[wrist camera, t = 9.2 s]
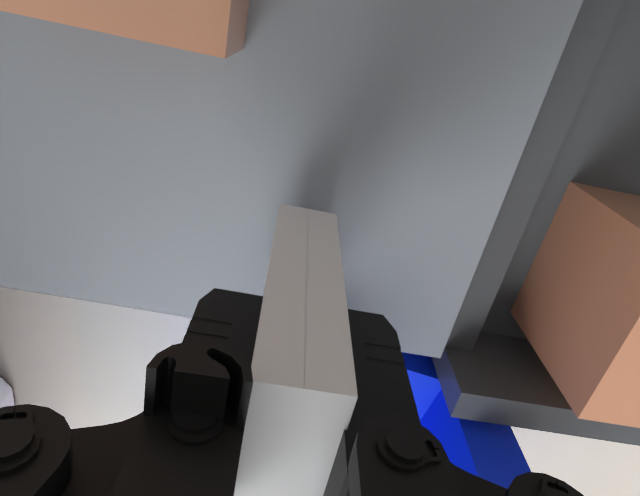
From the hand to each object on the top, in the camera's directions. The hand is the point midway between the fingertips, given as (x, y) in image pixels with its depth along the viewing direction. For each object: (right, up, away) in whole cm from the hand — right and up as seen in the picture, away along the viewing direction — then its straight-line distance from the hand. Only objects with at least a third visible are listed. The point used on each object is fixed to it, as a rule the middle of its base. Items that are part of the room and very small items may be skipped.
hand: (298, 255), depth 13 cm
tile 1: (+8, -1, +1) cm, 8 cm away
